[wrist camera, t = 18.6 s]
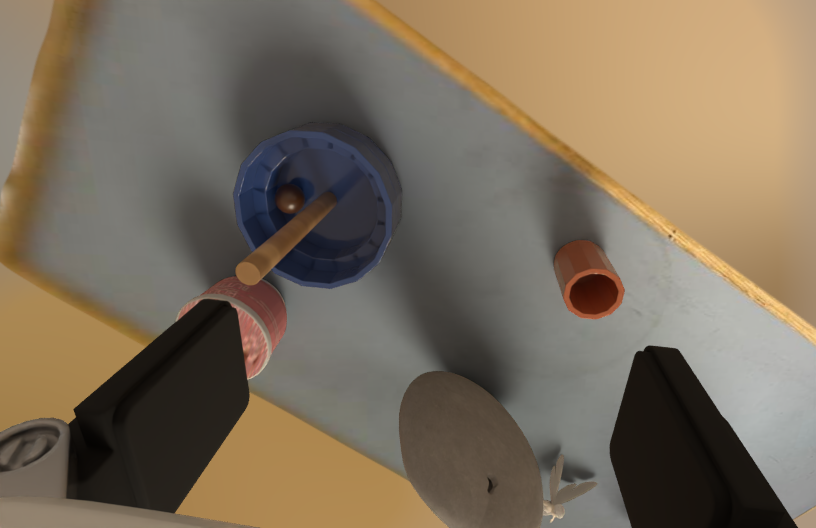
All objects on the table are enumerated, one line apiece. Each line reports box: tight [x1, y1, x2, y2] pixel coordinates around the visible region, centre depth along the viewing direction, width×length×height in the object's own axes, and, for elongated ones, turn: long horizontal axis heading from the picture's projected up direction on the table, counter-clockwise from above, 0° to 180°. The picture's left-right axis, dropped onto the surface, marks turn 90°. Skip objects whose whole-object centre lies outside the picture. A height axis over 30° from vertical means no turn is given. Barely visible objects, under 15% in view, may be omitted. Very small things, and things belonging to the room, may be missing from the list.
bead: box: [275, 184, 305, 214], centre depth 47 cm, size 3×3×3 cm
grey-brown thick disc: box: [399, 371, 543, 528], centre depth 47 cm, size 18×7×19 cm, turn 51°
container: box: [175, 276, 287, 380], centre depth 52 cm, size 10×10×8 cm
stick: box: [236, 192, 337, 285], centre depth 40 cm, size 2×2×18 cm
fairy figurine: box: [543, 455, 597, 523], centre depth 59 cm, size 6×7×7 cm
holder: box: [554, 240, 625, 319], centre depth 44 cm, size 5×5×7 cm
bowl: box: [233, 122, 402, 289], centre depth 46 cm, size 15×15×6 cm
